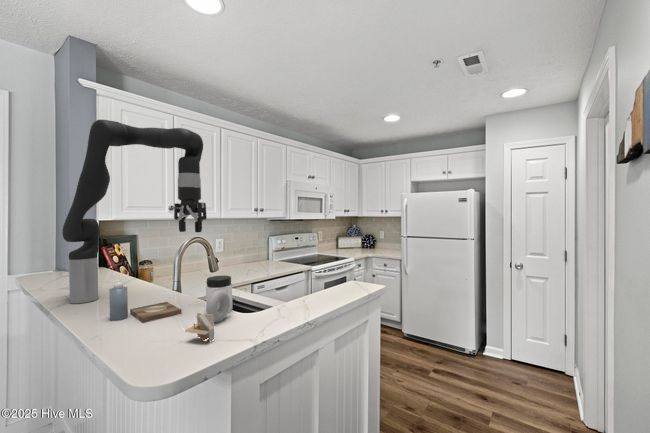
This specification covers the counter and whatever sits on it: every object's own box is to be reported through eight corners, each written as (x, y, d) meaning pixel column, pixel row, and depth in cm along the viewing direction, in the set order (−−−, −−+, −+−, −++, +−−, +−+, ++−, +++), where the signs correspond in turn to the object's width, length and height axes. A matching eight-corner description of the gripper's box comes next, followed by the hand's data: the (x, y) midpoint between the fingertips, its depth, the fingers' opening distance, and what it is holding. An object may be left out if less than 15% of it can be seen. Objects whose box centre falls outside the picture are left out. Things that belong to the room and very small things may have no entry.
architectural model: (205, 347, 80) (205, 319, 80) (185, 343, 82) (184, 316, 82) (214, 342, 83) (214, 315, 83) (194, 338, 86) (194, 312, 86)
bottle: (108, 318, 102) (107, 282, 102) (125, 314, 106) (124, 280, 106) (111, 322, 99) (111, 284, 99) (129, 318, 102) (129, 282, 102)
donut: (213, 327, 93) (212, 294, 93) (203, 326, 94) (203, 293, 94) (232, 316, 102) (231, 286, 102) (223, 315, 103) (223, 286, 103)
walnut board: (130, 313, 107) (130, 308, 107) (166, 305, 116) (166, 301, 116) (142, 322, 98) (142, 317, 98) (181, 313, 106) (181, 308, 106)
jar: (212, 307, 112) (211, 275, 112) (234, 307, 113) (233, 274, 112) (203, 316, 103) (202, 280, 103) (227, 315, 104) (227, 280, 104)
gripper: (167, 187, 110) (168, 232, 110) (193, 184, 103) (194, 233, 103) (185, 188, 116) (186, 231, 116) (211, 186, 109) (212, 231, 109)
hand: (190, 232), depth 110 cm, fingers open, 8 cm apart
